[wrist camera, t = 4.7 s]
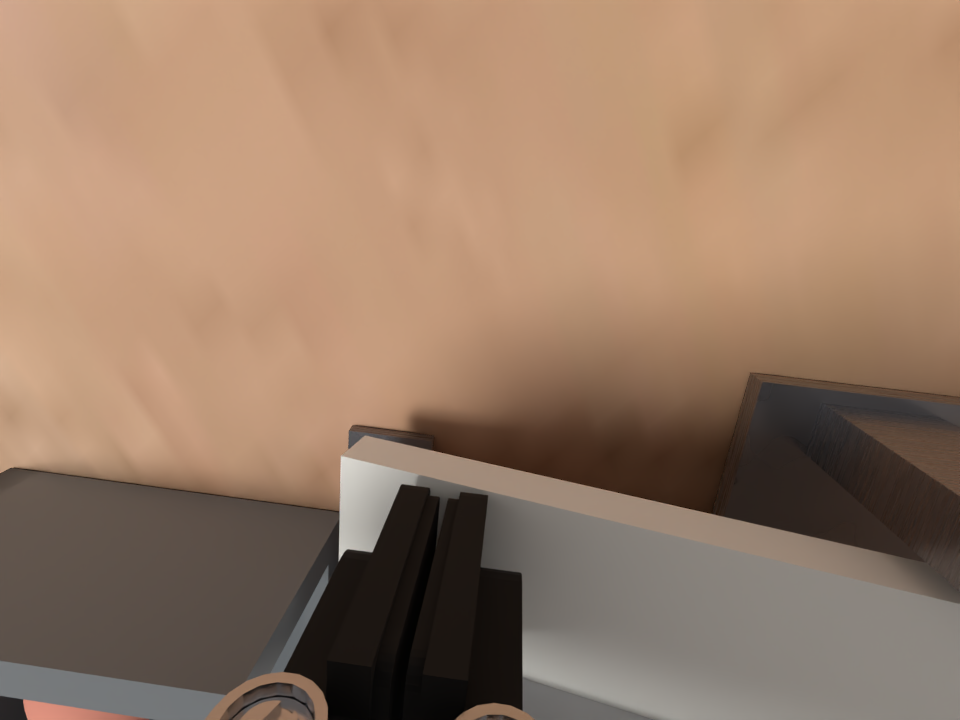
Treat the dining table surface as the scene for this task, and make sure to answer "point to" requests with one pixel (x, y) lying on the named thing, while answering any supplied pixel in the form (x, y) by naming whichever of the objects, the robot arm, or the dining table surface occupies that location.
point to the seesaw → (683, 602)
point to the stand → (836, 466)
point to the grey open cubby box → (149, 593)
